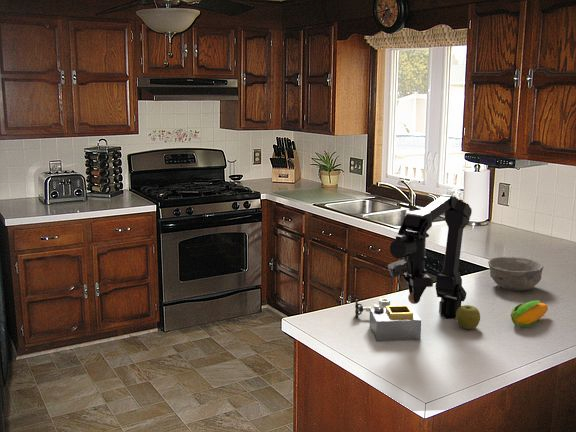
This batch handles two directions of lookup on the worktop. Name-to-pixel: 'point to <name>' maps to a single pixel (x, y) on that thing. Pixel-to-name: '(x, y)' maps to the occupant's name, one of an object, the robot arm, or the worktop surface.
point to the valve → (360, 308)
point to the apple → (468, 317)
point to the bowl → (515, 272)
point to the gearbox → (395, 323)
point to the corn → (528, 313)
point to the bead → (411, 298)
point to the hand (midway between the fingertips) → (414, 300)
